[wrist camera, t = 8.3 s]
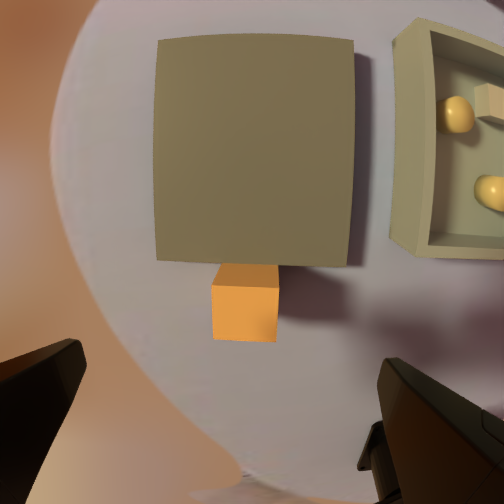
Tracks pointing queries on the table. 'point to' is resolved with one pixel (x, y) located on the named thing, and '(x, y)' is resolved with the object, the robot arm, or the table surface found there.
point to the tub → (448, 143)
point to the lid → (253, 164)
